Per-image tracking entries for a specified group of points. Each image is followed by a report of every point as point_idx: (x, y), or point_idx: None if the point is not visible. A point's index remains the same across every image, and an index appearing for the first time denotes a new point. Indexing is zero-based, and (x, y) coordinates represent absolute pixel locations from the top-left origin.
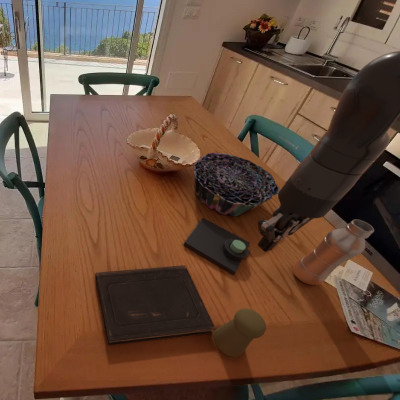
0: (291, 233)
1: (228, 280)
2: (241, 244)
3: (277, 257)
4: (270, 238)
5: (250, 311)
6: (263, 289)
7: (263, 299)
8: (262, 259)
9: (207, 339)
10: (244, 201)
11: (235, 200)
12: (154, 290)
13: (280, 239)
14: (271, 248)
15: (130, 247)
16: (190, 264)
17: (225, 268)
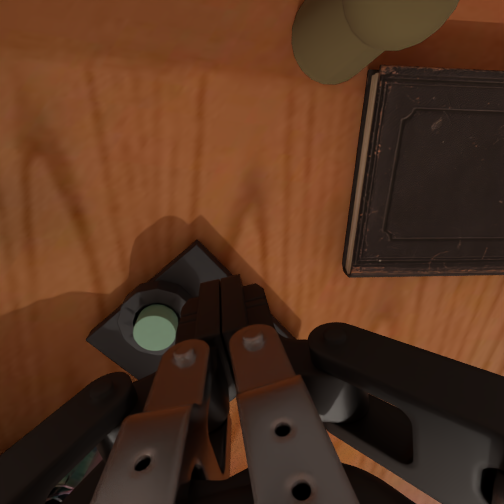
0: (106, 393)
1: (222, 223)
2: (145, 334)
3: (7, 286)
4: (397, 351)
5: (407, 10)
6: (123, 183)
7: (142, 151)
8: (67, 283)
9: (389, 54)
10: (60, 500)
11: None
12: (483, 207)
13: (203, 341)
14: (210, 289)
15: (441, 339)
16: (308, 281)
17: (216, 260)
